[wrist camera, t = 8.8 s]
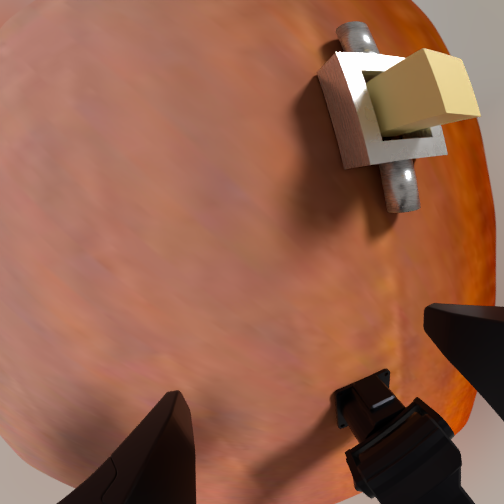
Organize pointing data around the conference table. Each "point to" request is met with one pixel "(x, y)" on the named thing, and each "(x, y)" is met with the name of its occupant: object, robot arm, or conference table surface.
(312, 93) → the conference table surface
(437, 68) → the butter yellow block
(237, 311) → the conference table surface
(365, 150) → the bracket head
